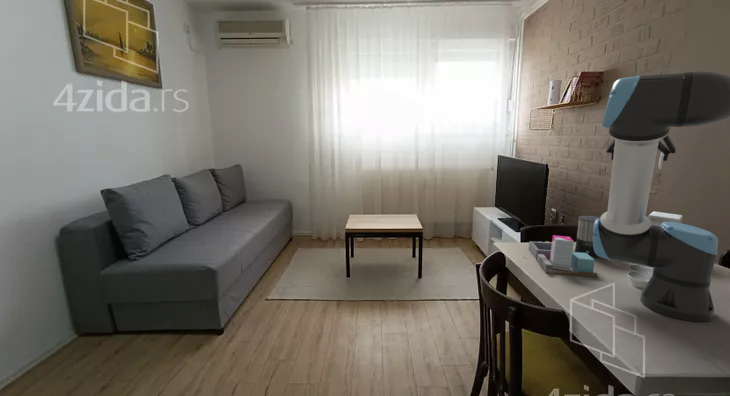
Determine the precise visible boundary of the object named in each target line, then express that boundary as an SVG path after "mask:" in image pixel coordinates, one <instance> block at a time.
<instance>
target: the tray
mask: <svg viewBox="0 0 730 396" xmlns="http://www.w3.org/2000/svg"><path fill="white" fill-rule="evenodd" d="M551 246H552V242H547V241H546V242H545V241H531V240H530V241H529V244H528V251H529V252H530V253H531V254H532V256H533V255H534V256H533V257H534V258H535V260H537V255H538V254H543V255H544V256H545V257H546V258H547V259H548V260H550V254H551Z"/></svg>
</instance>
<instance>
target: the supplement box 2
mask: <svg viewBox="0 0 730 396" xmlns="http://www.w3.org/2000/svg"><path fill="white" fill-rule="evenodd" d="M647 217H648V218H649V219H650V221H651V226H658V227H660V224H662V223H663V222H676V223H681V224H683V223H682V221H683V215H682V214H675V213H667V212H661V211H652V212H651V213H649V215H648V216H647Z"/></svg>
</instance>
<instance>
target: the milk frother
mask: <svg viewBox="0 0 730 396" xmlns="http://www.w3.org/2000/svg"><path fill="white" fill-rule="evenodd" d="M600 218H601V216H600V217H599V216H593V215H580V216H578V217H577V219H578V223H577V224H578V225H577V231H576V232H577V233H576V242H575V249H574V251H573V252H579V253H587V254H588V255H589V256H591V257H592V258H600V257H599V256H597V255H596V254H595V252H594V248H593V226H594V222H595V220H596V219H600Z"/></svg>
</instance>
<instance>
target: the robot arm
mask: <svg viewBox="0 0 730 396" xmlns="http://www.w3.org/2000/svg"><path fill="white" fill-rule="evenodd" d="M608 96H609V97H608V100H607V104H606V107H605V111H604V115H603V118H602V119H603V120H602V125H601V126H602V127H603V128H605V129H608V135H609V136H610V138H612V139H613V140H612V141H611V142H610V143H609V144H608V145H607V147H606V151H605V152H606V153H607V154H611V158H610V159H611V161H612V166H611V167H612V169H611V175H610V177H611V178H610V185H609V193H608V194H609V195H608V203H607V211H605V212H604V213H602V214H601V216H600V219H596V220H595V222H594V226H593V248H594V252H595V254H596V255H597V256H599V257H598V258H603V259H607V260H610V261H618V262H622V263H629V264H631V265H632V264H634V265H637V266H643V267H648V268H653V270H652V275H651V277H650V279H649V280H648V282H647V283H646V284H645V286H644V287H643V289H642V290H641V293H640V301H641V303H642V304H643V305H644V306H645V307H647V308H648V309H651V310H652V311H655V312H657V313H659V314H661V315H665V316H667V317H671V318H674V319H678V320H683V321H688V322H696V323H697V322H699V323H701V322H702V323H703V322H704V323H705V322H710V321H712V320H713V319H714V314H715V307H714V303H713V299H712V294H711V290H710V288H711V286H710V285H711V281H712V278H713V277H712V276H713V271H714V268H715V267H714V266H715V261H716V257H717V255H718V247H719V239H718V236H716V235H715V233H712V232H711V231H708V230H706V229H705V228H704V229H703V228H700V227H697V226H694V225H690V224H685V223H676V222H663V223H662V224H660V227H658V226H651V221H650V219H649V218H648V216H647V209H648V204H649V198H650V192H651V188H652V187H651V186H652V181H653V175H654V170H655V166H656V165H655V164H656V159H657V154H658V150H659V151H660V156H659V160H658V170H661V169H662V166H663V162H666V161H668V158H669V155H670V154H675V153H676V151H677V150H676V146H675V144H674V142H673V141H672V140H671V138H670V136H669V133H670V128H672V127H673V128H680V127H681V128H683V127H685V128H686V127H699V126H708V125H712V124H718V123H721V122H725V121H729V120H730V75H729V74H725V73H720V72H715V71H702V70H701V71H699V70H697V71H688V72H676V73H664V74H663V73H662V74H647V75H646V74H645V75H640V74H638V75H634V76H627V77H621V78H618V79H617V80H615V81H614V83H613V84H612V87H611V89H610V93H609V95H608ZM660 140H663V141H664V143H665V145H664V144H663V142H661V141H660Z"/></svg>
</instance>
